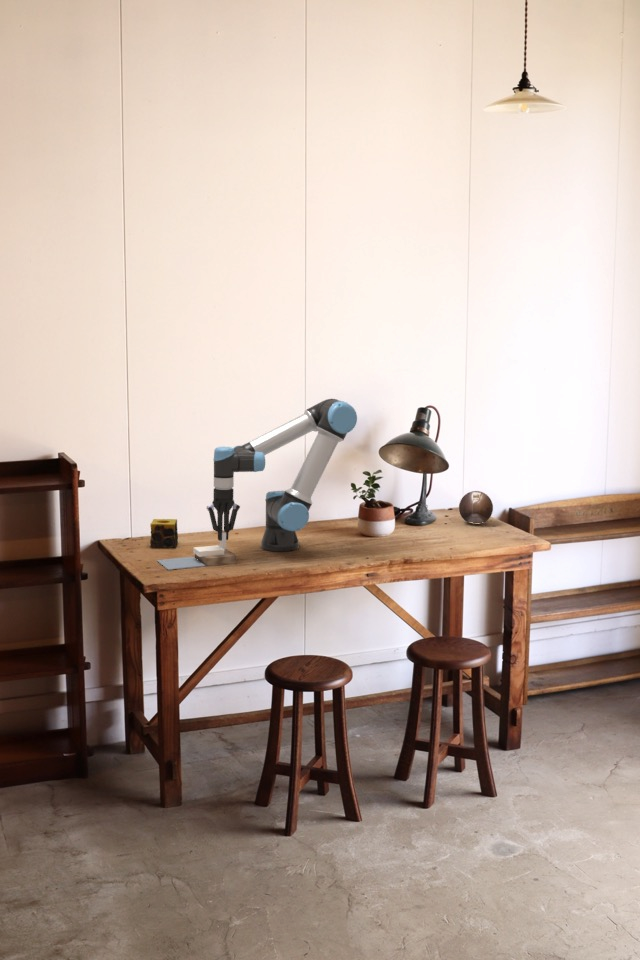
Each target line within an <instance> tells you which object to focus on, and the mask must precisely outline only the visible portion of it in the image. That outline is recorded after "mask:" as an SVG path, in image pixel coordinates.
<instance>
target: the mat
mask: <svg viewBox="0 0 640 960" xmlns="http://www.w3.org/2000/svg"><path fill="white" fill-rule="evenodd" d="M157 561H158V562H159V564H160V565H161V566H162V565H163V566H164V567H165V568H164V567H163V566H162V567H163V568H164V569H165V570H167V569H168V570H167V571H173V570H172V569H177V570H185V568H187V569H193V568H194V569H196V567H197V568H204V567H206V566H205V565H204V564H203V563H201V562H200V561H199V560H197V559H196V558H195V556H184V557H174V558H166V559H165V558H163V559H157V560H156V562H157ZM158 562H157V563H158Z"/></svg>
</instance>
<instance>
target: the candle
mask: <svg viewBox="0 0 640 960" xmlns="http://www.w3.org/2000/svg"><path fill="white" fill-rule="evenodd" d="M178 538H179V535H178V519H177V518H153V519H152V521H151V523H150V542H149V543H150V548H151V549H176V548H177V546H178V543H179V541H178Z"/></svg>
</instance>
